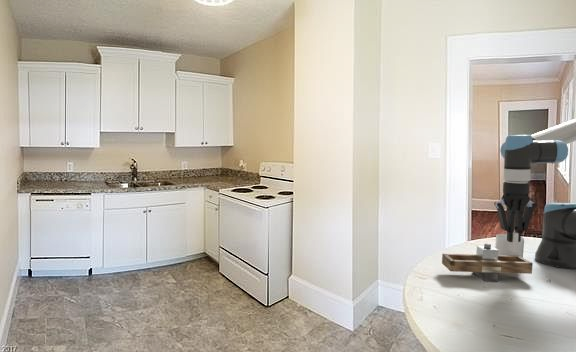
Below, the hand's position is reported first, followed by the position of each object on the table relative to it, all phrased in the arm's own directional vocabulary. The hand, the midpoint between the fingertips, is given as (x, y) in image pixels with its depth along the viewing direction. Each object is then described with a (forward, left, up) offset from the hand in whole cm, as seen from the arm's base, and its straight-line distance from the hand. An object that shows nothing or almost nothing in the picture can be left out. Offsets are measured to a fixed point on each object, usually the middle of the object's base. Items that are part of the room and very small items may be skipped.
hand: (513, 251), depth 125 cm
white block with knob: (+9, 0, -4) cm, 9 cm away
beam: (+9, 0, -9) cm, 13 cm away
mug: (-6, -13, -9) cm, 17 cm away
